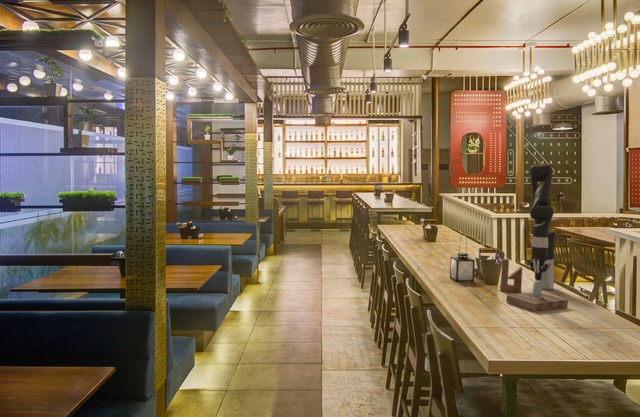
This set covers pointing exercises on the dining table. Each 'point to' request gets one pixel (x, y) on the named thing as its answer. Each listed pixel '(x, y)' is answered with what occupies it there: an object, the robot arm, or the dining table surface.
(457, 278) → the lantern
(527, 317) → the dining table surface
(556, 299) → the socket block
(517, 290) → the brown wedge-headed part
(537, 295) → the peg
